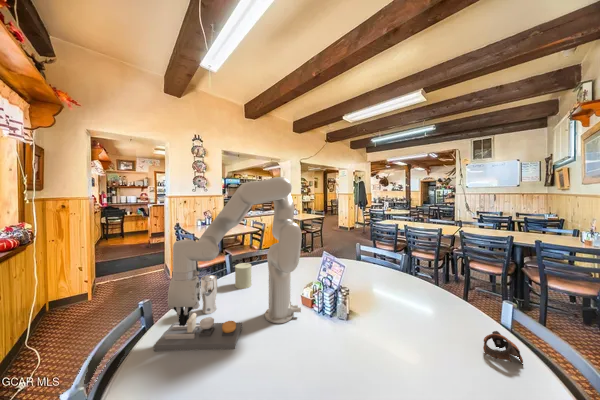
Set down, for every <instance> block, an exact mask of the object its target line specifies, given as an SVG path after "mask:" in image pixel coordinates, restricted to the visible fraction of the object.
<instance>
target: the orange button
mask: <svg viewBox="0 0 600 400" xmlns="http://www.w3.org/2000/svg"><path fill="white" fill-rule="evenodd" d="M222 323H223V325H222V331H223V332H224V333H230V332H233V331H234V330H235V329H236V323H237V322H236V321H234V320H228V321H225V322H222Z"/></svg>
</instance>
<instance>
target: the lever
mask: <svg viewBox="0 0 600 400" xmlns="http://www.w3.org/2000/svg"><path fill="white" fill-rule="evenodd" d="M196 323H197V313H196V312H193V313H192V314H191V315H189V319H188V320H187V323H186V324H187V332H186V334H195V333H196V332H197V330H198V328H195V327H196Z"/></svg>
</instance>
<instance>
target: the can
mask: <svg viewBox="0 0 600 400" xmlns="http://www.w3.org/2000/svg"><path fill="white" fill-rule="evenodd" d="M234 274H235V275H234V277H235V283H234V284H235V285H234V288H236V289H239V290H240V289H241V290H246V289H249V288H251V286H252V285H253V284H252V264H251V263H248V262H241V263H238V264H235V265H234Z"/></svg>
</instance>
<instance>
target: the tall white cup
mask: <svg viewBox="0 0 600 400" xmlns="http://www.w3.org/2000/svg"><path fill="white" fill-rule="evenodd" d="M217 278H218V277H217V275H214V274H211V275H209V274H208V275H205V276H202V277H201V278H200V293H201V300H202V309H201V312H202V314H205V315H209V314H210V315H211V314H213V313H215V312H216V310H217V304H216V300H217V298H216V297H217V292H218V279H217Z"/></svg>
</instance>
